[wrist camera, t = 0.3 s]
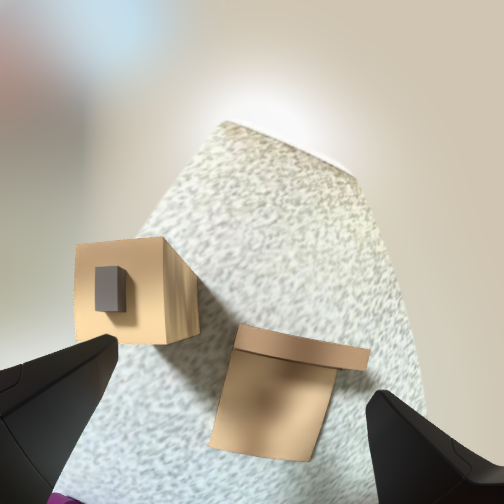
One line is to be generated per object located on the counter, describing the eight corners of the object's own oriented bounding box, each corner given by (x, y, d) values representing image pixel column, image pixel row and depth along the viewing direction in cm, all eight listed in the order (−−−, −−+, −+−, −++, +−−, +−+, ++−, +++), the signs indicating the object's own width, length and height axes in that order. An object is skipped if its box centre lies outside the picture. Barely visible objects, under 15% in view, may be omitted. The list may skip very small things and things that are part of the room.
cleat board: (340, 344, 22) (370, 349, 16) (306, 458, 19) (324, 489, 14) (239, 323, 22) (239, 324, 16) (209, 442, 19) (201, 475, 14)
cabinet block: (200, 333, 22) (160, 346, 10) (144, 334, 22) (65, 341, 10) (196, 275, 23) (157, 229, 12) (141, 278, 23) (66, 239, 11)
